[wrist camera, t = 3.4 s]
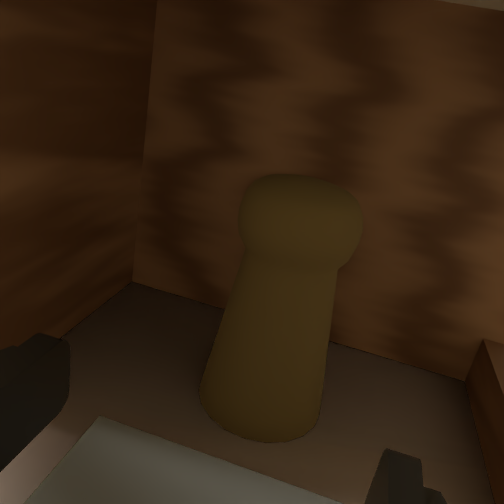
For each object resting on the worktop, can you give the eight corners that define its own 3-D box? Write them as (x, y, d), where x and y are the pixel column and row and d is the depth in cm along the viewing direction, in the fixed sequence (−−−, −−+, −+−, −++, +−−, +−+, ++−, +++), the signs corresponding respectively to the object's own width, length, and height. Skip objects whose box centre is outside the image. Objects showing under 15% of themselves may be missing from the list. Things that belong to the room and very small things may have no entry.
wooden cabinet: (-70, 409, 19) (-138, -239, 11) (124, 270, 33) (152, -64, 25) (569, 656, 15) (1146, -121, 7) (482, 375, 29) (644, 11, 21)
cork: (172, 397, 22) (205, 168, 18) (241, 345, 27) (279, 156, 23) (284, 466, 20) (352, 217, 15) (338, 394, 25) (400, 192, 20)
